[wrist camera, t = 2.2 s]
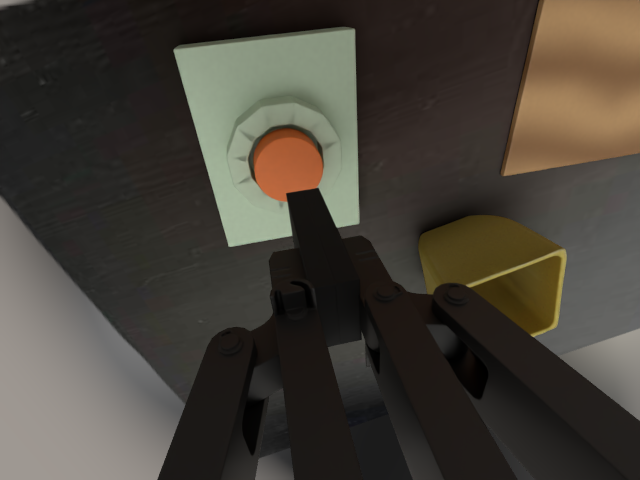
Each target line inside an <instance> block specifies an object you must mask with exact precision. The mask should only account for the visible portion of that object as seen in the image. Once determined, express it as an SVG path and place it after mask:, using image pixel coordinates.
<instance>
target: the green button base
mask: <svg viewBox="0 0 640 480" xmlns="http://www.w3.org/2000/svg"><path fill="white" fill-rule="evenodd" d="M174 54H175V58H176V61H177V65H178V68H179V72H180V75H181V79H182V83H183V86H184V90H185V93H186V97H187V100H188V104H189V107H190V111H191V114H192V118H193V121H194V125H195V128H196V132H197V136H198V139H199V143H200V146H201V150H202V153H203V157H204V160H205V164H206V167H207V171H208V174H209V178H210V181H211V185H212V188H213V192H214V196H215V199H216V203H217V206H218V210H219V213H220V217H221V220H222V224H223V227H224V231H225V234H226V238H227V241H228V245H229V247H232V246H238V245H243V244H249V243H254V242H260V241H265V240H271V239H277V238H282V237H288V236H292V229H291V223H290V216H289V210H288V203H287V202H283V201H278V200H275V199H273V198H271V197H269V196H268V195H266V194H265V193H264V192H263V191H262V190H261V188H260V187H259V185H258V183H257V181H256V178H255V172H254V164H253V157H254V152H255V149H256V147H257V145H258V143H259V142H260V140H261V139H262V138H263V137H264V136H265V135H267V134H268V133H270V132H272V131H274V130H277V129H282V128H291V129H295V130H298V131H301V132H303V133H304V134H306V135H307V136H308V137H309V138H310V139H311V140H312V141H313V143H314V144H315V146H316V148H317V150H318V152H319V153H320V155H321V158H322V161H323V175H322V178H321V181H320V183H319V185H318V186H317V188H319V190H320V192H321V194H322V196H323V198H324V201H325V203H326V205H327V207H328V210H329V212H330V214H331V216H332V218H333V221H334V223H335V225H336V227H337V228H338V227H343V226H349V225H355V224H359V184H358V140H357V96H356V51H355V29H354V28H349V27H336V28H327V29H319V30H310V31H301V32H292V33H283V34H274V35H265V36H256V37H247V38H238V39H229V40H220V41H211V42H202V43H194V44H185V45H179V46H177V47H176V48H175V49H174Z"/></svg>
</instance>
